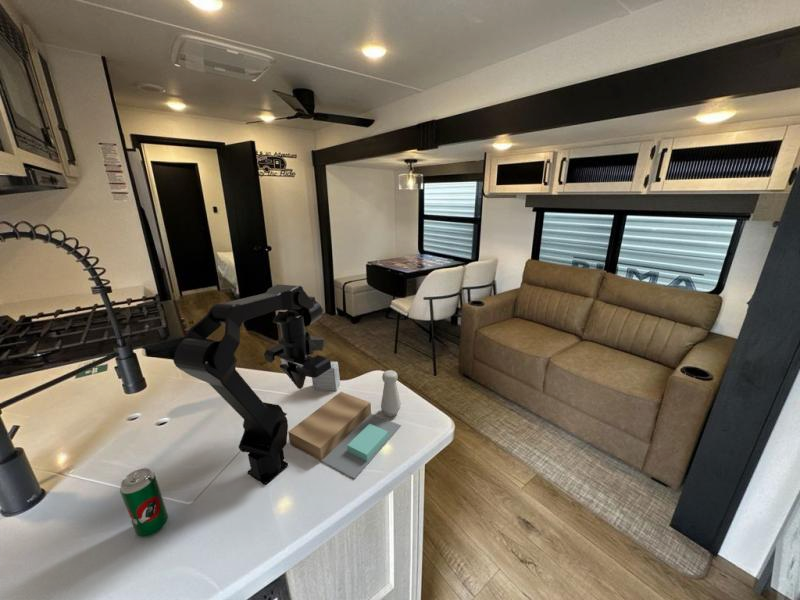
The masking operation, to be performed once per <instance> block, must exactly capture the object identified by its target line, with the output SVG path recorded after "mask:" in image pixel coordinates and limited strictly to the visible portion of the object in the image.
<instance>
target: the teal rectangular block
mask: <svg viewBox="0 0 800 600" xmlns="http://www.w3.org/2000/svg"><path fill="white" fill-rule="evenodd" d="M387 439H388V431H386V430H383V429H381V428H379V427H376V426H374V425H372V424H369V425H368V426H367V427H366V428H365V429H363V430H362V431H361V432H360V433H359V434H358V435H357V436H356V437H355V438H354V439H353V440H352V441H351V442H350V443H349V444H348V445H347V448H348V452H349V453H351V454H353V455H355V456H357V457H359V458H361V459H363V460H365V461H368V460H369V459H370V458H371V457H372V456H373V455H374V454H375V452H376V451H377V450H378V449H379V448H380V447H381V446H382V445H383V444H384V442H385V441H386V440H387Z"/></svg>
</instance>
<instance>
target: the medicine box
mask: <svg viewBox="0 0 800 600" xmlns="http://www.w3.org/2000/svg"><path fill="white" fill-rule="evenodd" d="M339 369H340V368H339V362H338V361H331V368H330V369H329V370H327V371H326V372H324V373H323V374H321V375H319V376H318V377H316V378H312V377H311V380H312V389H313V391H324V392H326V391H329V392H333V391H334V392H337V391H338V388H339V387H340V385H341V381H340V380H341V379H340V371H339Z"/></svg>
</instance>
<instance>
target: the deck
mask: <svg viewBox="0 0 800 600" xmlns="http://www.w3.org/2000/svg"><path fill="white" fill-rule="evenodd" d="M371 403H372V402H370V401H367V400H365V399H362V398H359V397H357V396H354V395H351V394H349V393H345V392H343V391H340V392H338V393H337V394H336V395H335V396H333V397H332V398H331V399H329V400H328V401H326V402H325V403H324V404H322V405H321V406H320V407H318V409H316V410H315V411H313V412H312V413H311V414H310V415H308V416H307V417H306V418H304V419H303V420H301V421H300V422H299V423H297V424H296V425H295V426H294V427H293V428H291V429H290V430H288V432H287V435H288V441H289V445H290V446H292V447H293V448H296V449H297V450H299V451H301V452H303V453H305V454H307V455H309V456H311V457H312V458H314V459H317V460H318V461H319V462H321V463H323V462H322V460H323V459H324V458H325V457H326V456H327V455H328V454H329V453H330V452H331V451H332V450H333V449H334V448H335V447H336V446H338V445H339V444H340V443H341V442H342V441H343V440H344V439H345V438H346V437H347V436H348V435H349V434H350V433H351V432H352V431H353V430H354V429H355V428H356V427H357V426H359V425H360V424H361V423H362V422H363V421H364V420H365V419H366V418H367V417H368V416H369V415H370V414H372V407H371V406H372V405H371Z"/></svg>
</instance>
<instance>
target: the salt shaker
mask: <svg viewBox="0 0 800 600" xmlns="http://www.w3.org/2000/svg"><path fill="white" fill-rule="evenodd" d="M381 378H382V381H383V383H384V384H383V389H382V398H381V402H380V403H381V404H380V408H381V411H382V412H383V414H384V415H385V416H387V417H390V418H391V417H394V416H397V414H398V412H399V410H400V409H401V405H402V402H401V399H400V394H399V389H398V386H397V381H398V373H397V372H396V371H395V370H391V369H389V370H385V371H384V372H382V377H381Z"/></svg>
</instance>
